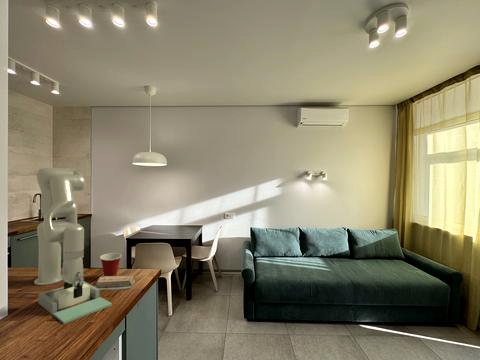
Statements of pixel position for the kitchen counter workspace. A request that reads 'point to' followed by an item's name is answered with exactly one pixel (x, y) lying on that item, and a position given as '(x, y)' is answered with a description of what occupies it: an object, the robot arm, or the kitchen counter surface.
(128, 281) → the packaged product
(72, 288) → the carton
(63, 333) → the kitchen counter surface
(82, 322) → the kitchen counter surface
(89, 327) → the kitchen counter surface
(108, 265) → the plastic cup
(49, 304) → the frame
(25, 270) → the kitchen counter surface
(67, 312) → the pad
